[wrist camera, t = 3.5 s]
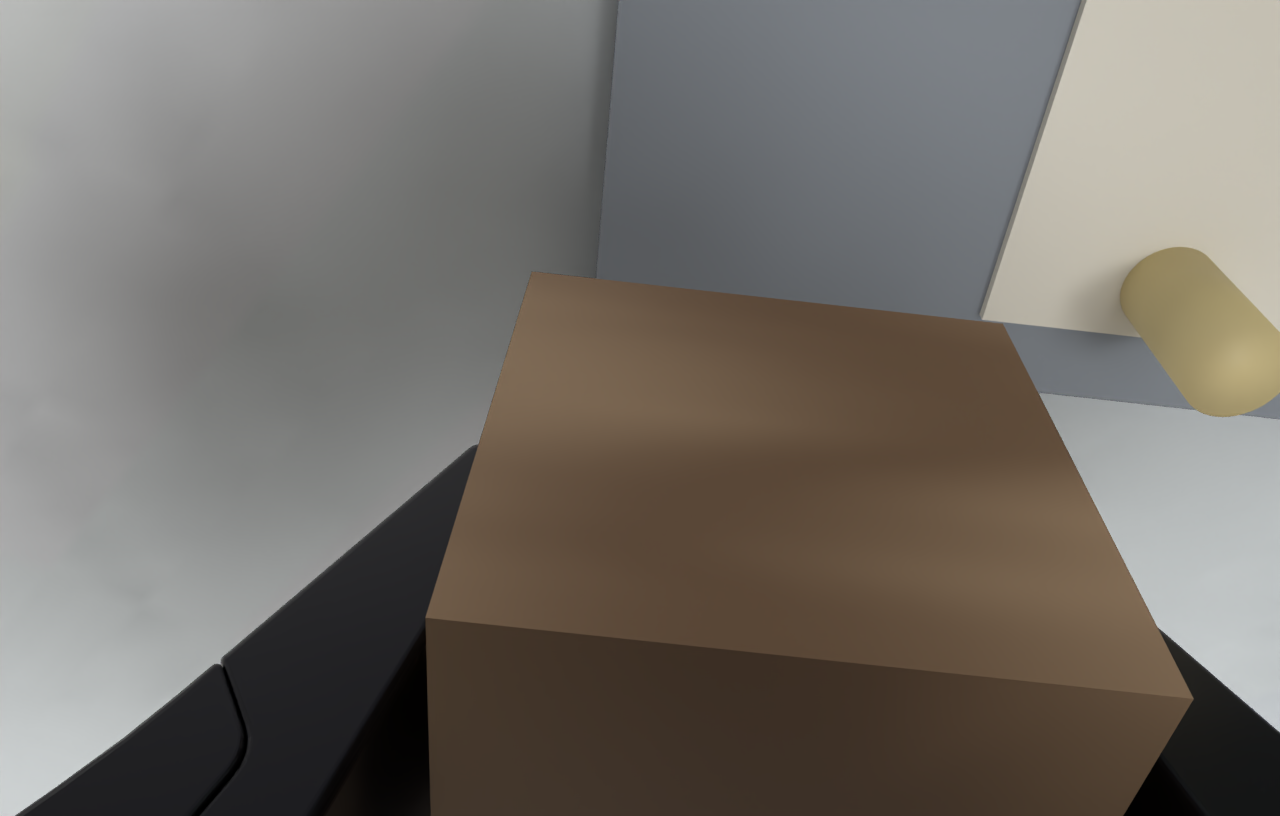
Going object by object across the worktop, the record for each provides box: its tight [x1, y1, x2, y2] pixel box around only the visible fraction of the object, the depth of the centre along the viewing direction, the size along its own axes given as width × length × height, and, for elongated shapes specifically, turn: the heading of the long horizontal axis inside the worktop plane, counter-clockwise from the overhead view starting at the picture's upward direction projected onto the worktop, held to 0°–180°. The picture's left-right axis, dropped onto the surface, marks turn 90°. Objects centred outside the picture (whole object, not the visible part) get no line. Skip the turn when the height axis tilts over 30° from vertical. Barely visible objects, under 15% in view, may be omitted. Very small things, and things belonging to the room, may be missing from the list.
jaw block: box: [425, 272, 1194, 816], centre depth 8 cm, size 4×4×4 cm
